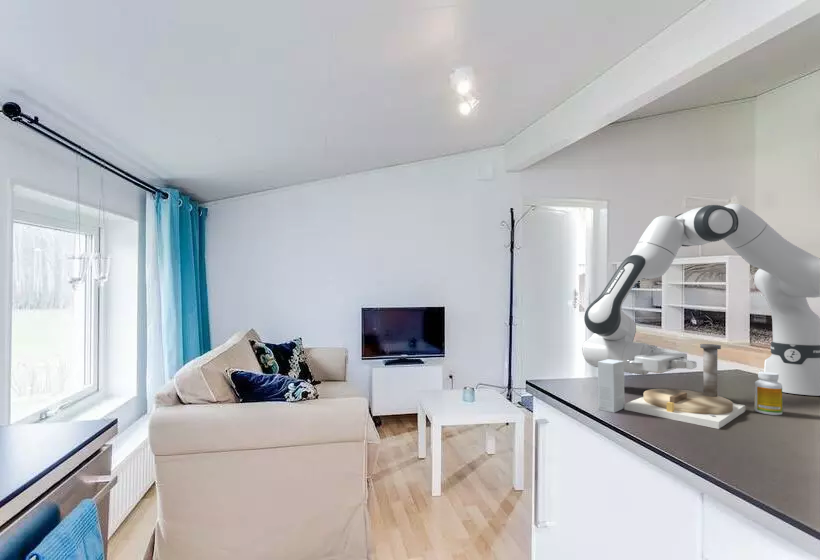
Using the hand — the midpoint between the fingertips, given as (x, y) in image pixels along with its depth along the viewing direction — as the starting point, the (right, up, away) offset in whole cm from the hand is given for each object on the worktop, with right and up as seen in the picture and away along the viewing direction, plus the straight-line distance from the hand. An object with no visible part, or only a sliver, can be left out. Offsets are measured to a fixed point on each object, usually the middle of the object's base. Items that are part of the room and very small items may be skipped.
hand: (694, 365), depth 119 cm
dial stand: (-6, -10, -6) cm, 13 cm away
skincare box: (-24, -10, -5) cm, 27 cm away
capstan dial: (-5, -9, -5) cm, 11 cm away
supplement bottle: (+14, -11, -7) cm, 19 cm away
